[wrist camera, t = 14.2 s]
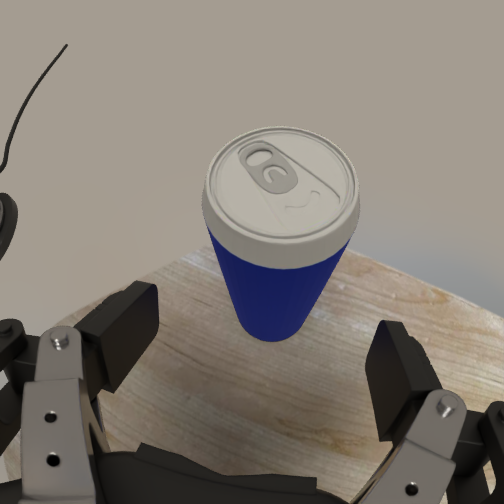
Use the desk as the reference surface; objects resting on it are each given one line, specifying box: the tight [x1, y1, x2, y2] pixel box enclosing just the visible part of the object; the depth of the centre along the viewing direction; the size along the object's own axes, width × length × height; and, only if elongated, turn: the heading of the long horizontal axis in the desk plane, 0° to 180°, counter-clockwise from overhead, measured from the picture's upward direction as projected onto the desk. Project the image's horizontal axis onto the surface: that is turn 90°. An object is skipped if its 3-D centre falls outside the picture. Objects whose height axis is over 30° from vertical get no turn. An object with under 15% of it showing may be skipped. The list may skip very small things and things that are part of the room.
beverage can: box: [202, 126, 360, 342], centre depth 15 cm, size 5×5×15 cm
